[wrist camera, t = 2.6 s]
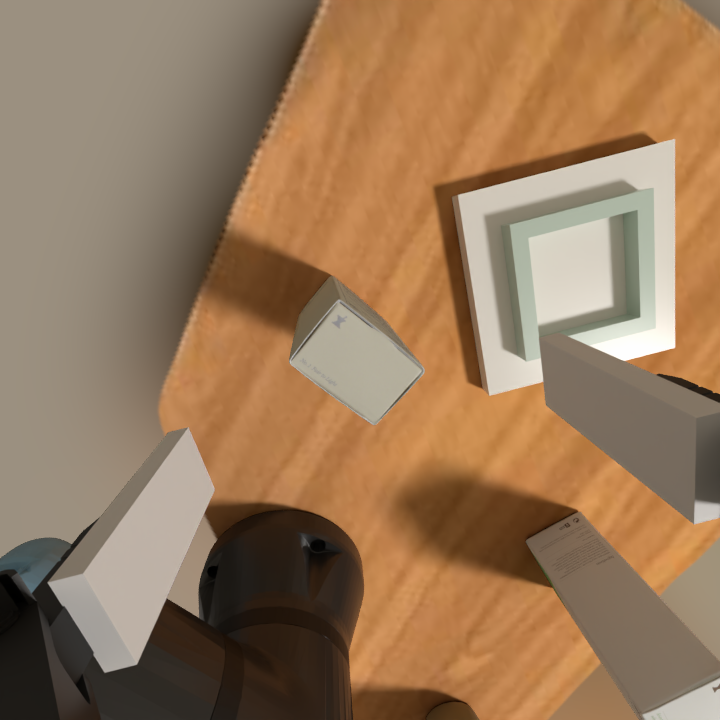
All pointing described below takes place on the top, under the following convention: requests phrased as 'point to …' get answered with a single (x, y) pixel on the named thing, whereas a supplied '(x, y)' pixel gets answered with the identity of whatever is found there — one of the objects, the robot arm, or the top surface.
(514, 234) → the collar plate
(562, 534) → the skincare box
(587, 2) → the top surface
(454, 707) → the squeeze bottle
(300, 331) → the skincare box
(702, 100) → the top surface
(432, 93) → the top surface
